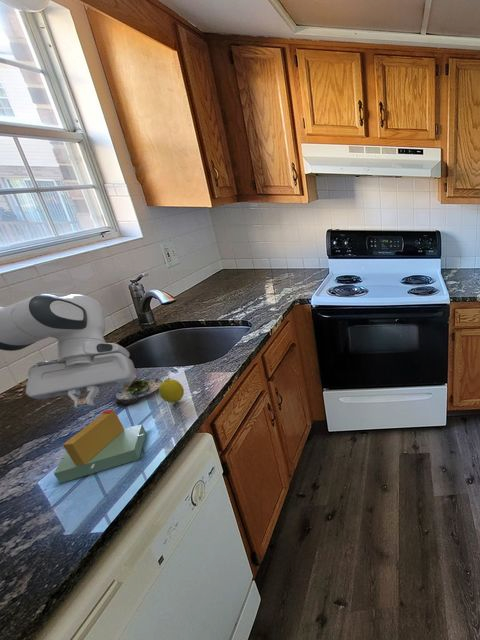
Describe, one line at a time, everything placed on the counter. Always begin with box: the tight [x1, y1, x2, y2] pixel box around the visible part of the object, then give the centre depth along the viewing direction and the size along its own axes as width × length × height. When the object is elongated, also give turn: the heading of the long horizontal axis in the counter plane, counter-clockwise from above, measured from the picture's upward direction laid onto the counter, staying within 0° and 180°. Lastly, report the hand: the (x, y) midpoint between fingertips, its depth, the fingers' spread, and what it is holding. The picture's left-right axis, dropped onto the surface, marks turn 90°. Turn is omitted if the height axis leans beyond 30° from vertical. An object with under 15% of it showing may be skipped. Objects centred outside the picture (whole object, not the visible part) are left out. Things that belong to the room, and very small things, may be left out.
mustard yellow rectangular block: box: [62, 409, 125, 465], centre depth 85 cm, size 12×2×6 cm, turn 4°
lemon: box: [158, 378, 185, 404], centre depth 106 cm, size 6×6×8 cm
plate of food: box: [114, 374, 163, 405], centre depth 111 cm, size 12×12×8 cm
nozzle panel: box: [53, 423, 147, 484], centre depth 87 cm, size 16×16×3 cm
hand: (84, 406), depth 90 cm, fingers closed
